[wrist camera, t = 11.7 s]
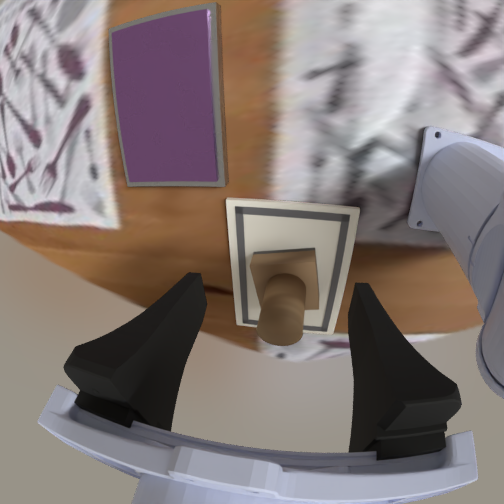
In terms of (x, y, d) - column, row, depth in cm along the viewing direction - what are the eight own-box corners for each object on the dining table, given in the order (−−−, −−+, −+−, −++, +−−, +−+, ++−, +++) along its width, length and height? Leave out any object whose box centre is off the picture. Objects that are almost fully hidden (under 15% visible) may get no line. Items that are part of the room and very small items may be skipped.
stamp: (315, 247, 23) (313, 305, 17) (319, 294, 25) (317, 352, 20) (253, 251, 24) (236, 307, 19) (264, 296, 26) (252, 352, 21)
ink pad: (220, 5, 14) (214, 1, 12) (228, 181, 21) (224, 188, 20) (116, 29, 15) (106, 28, 14) (133, 181, 23) (125, 188, 22)
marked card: (359, 207, 20) (360, 210, 20) (332, 331, 28) (332, 335, 28) (227, 197, 22) (225, 200, 22) (237, 322, 30) (236, 325, 30)
